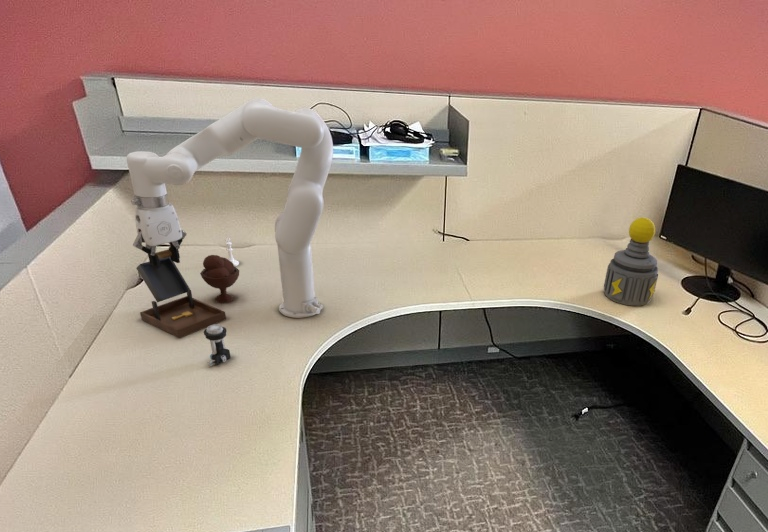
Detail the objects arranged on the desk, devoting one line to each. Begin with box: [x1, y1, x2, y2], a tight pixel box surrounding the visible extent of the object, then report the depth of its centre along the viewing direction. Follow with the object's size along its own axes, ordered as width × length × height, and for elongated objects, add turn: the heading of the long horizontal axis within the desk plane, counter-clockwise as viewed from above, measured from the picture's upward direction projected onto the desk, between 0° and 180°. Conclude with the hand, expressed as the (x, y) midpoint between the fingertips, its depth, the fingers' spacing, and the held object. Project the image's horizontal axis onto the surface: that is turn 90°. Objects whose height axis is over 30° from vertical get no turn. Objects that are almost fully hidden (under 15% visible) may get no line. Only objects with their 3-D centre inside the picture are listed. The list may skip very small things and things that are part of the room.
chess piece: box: [224, 236, 240, 267], centre depth 202 cm, size 5×5×10 cm
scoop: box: [136, 248, 191, 303], centre depth 162 cm, size 12×9×8 cm
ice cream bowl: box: [199, 254, 240, 304], centre depth 176 cm, size 11×11×15 cm
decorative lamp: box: [603, 216, 659, 307], centre depth 204 cm, size 19×19×30 cm
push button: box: [203, 323, 231, 367], centre depth 147 cm, size 7×5×10 cm
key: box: [172, 311, 193, 320], centre depth 167 cm, size 6×2×1 cm, turn 149°
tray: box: [139, 289, 227, 339], centre depth 165 cm, size 17×15×7 cm
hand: (165, 263), depth 160 cm, fingers closed on scoop, 5 cm apart
